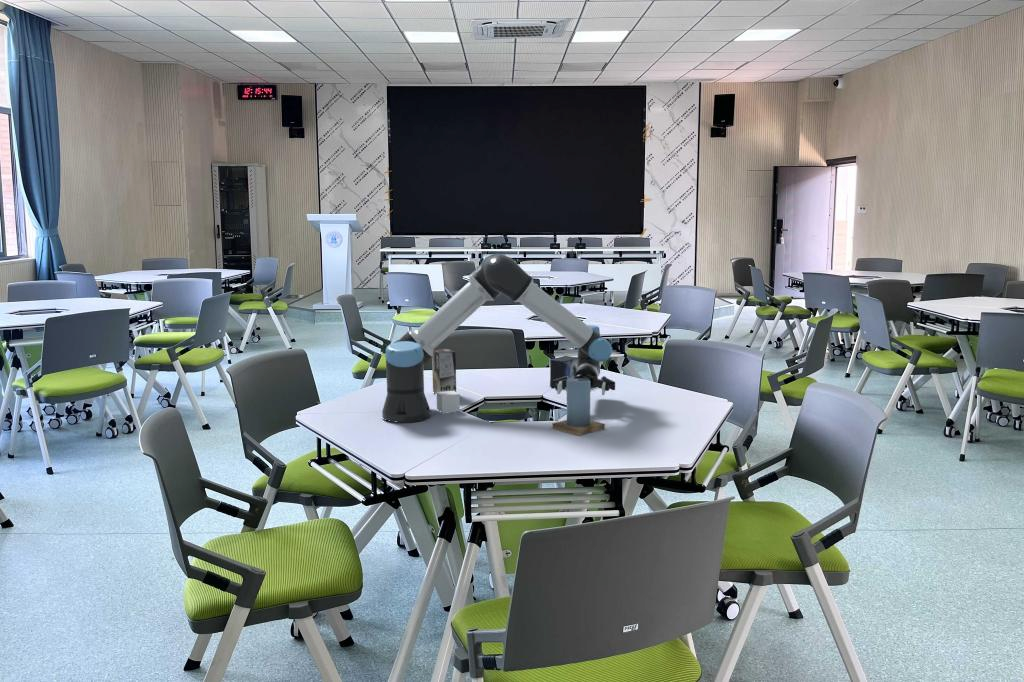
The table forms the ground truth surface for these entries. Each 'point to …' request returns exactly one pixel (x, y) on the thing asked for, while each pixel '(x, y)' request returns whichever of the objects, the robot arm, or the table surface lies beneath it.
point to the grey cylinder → (578, 402)
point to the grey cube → (448, 401)
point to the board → (578, 430)
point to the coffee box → (444, 370)
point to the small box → (563, 367)
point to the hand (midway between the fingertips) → (580, 390)
